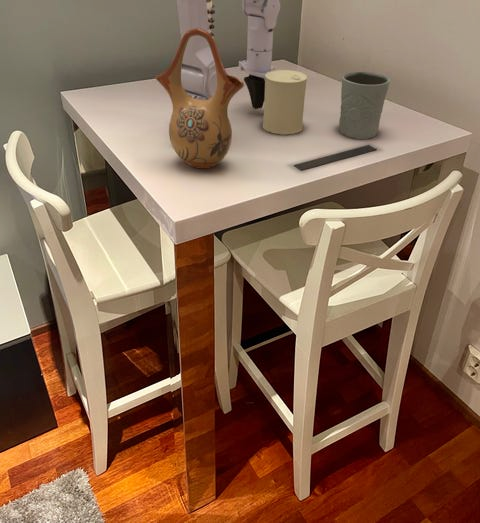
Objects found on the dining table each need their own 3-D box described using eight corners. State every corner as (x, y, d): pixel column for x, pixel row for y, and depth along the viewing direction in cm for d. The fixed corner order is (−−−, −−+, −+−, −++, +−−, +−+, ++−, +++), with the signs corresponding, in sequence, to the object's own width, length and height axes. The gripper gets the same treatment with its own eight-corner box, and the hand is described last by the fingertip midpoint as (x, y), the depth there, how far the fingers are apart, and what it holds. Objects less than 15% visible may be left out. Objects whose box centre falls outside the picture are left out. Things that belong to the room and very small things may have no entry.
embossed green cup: (346, 141, 112) (354, 86, 105) (327, 125, 120) (334, 72, 113) (388, 137, 115) (399, 83, 108) (367, 121, 123) (376, 69, 116)
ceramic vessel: (247, 160, 104) (251, 26, 89) (235, 180, 97) (238, 37, 82) (169, 150, 107) (161, 19, 92) (153, 168, 100) (141, 29, 85)
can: (288, 138, 113) (292, 82, 106) (254, 127, 118) (256, 74, 111) (310, 126, 119) (315, 72, 112) (276, 116, 124) (280, 65, 117)
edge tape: (301, 170, 101) (301, 169, 100) (293, 165, 102) (293, 164, 102) (376, 149, 109) (376, 149, 109) (368, 145, 111) (368, 144, 111)
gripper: (293, 53, 114) (288, 114, 122) (256, 39, 124) (254, 96, 132) (266, 57, 111) (263, 119, 119) (231, 43, 121) (230, 100, 129)
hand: (257, 107), depth 125 cm, fingers closed
